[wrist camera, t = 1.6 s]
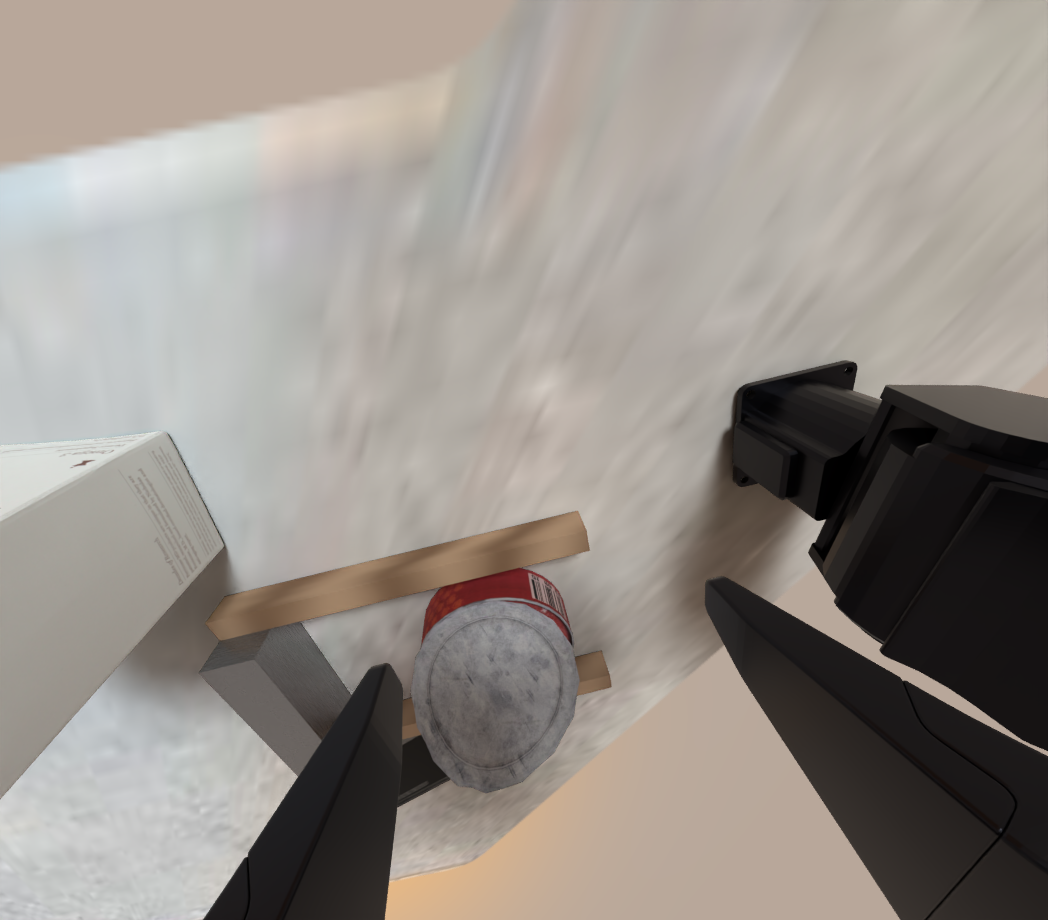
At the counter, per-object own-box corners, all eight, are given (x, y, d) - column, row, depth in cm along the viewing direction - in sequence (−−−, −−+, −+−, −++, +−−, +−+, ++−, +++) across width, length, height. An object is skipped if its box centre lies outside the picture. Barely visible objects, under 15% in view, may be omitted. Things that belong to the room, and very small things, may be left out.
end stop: (285, 601, 24) (254, 659, 21) (361, 710, 30) (346, 770, 26) (238, 613, 24) (198, 673, 21) (322, 720, 30) (303, 781, 26)
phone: (288, 801, 33) (426, 723, 30) (294, 785, 34) (427, 709, 31) (358, 828, 36) (487, 761, 34) (361, 813, 37) (486, 747, 35)
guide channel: (577, 510, 24) (586, 530, 22) (603, 662, 31) (611, 687, 29) (224, 596, 24) (205, 623, 22) (331, 730, 30) (322, 759, 29)
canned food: (435, 596, 32) (344, 693, 23) (503, 516, 28) (425, 595, 19) (539, 694, 31) (487, 836, 22) (625, 626, 27) (605, 766, 18)
